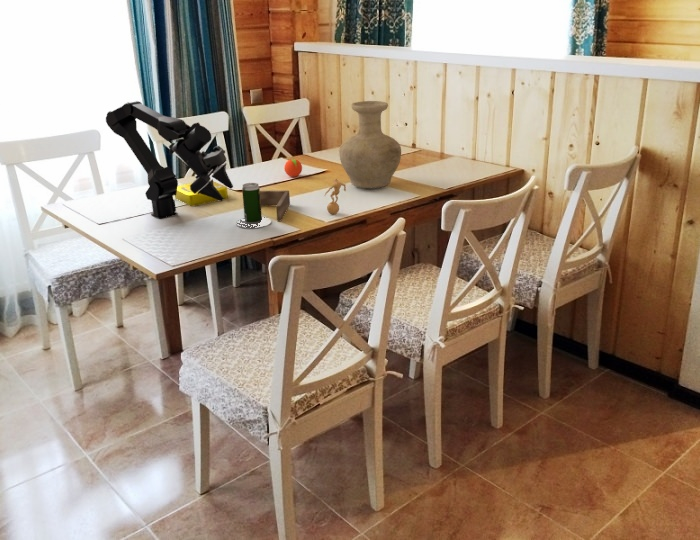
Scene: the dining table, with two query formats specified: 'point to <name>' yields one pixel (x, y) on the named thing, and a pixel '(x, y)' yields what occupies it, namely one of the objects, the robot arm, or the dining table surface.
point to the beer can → (251, 203)
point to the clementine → (293, 167)
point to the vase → (370, 149)
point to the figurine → (333, 206)
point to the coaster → (247, 224)
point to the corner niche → (276, 201)
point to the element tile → (198, 199)
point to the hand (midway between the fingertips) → (227, 193)
